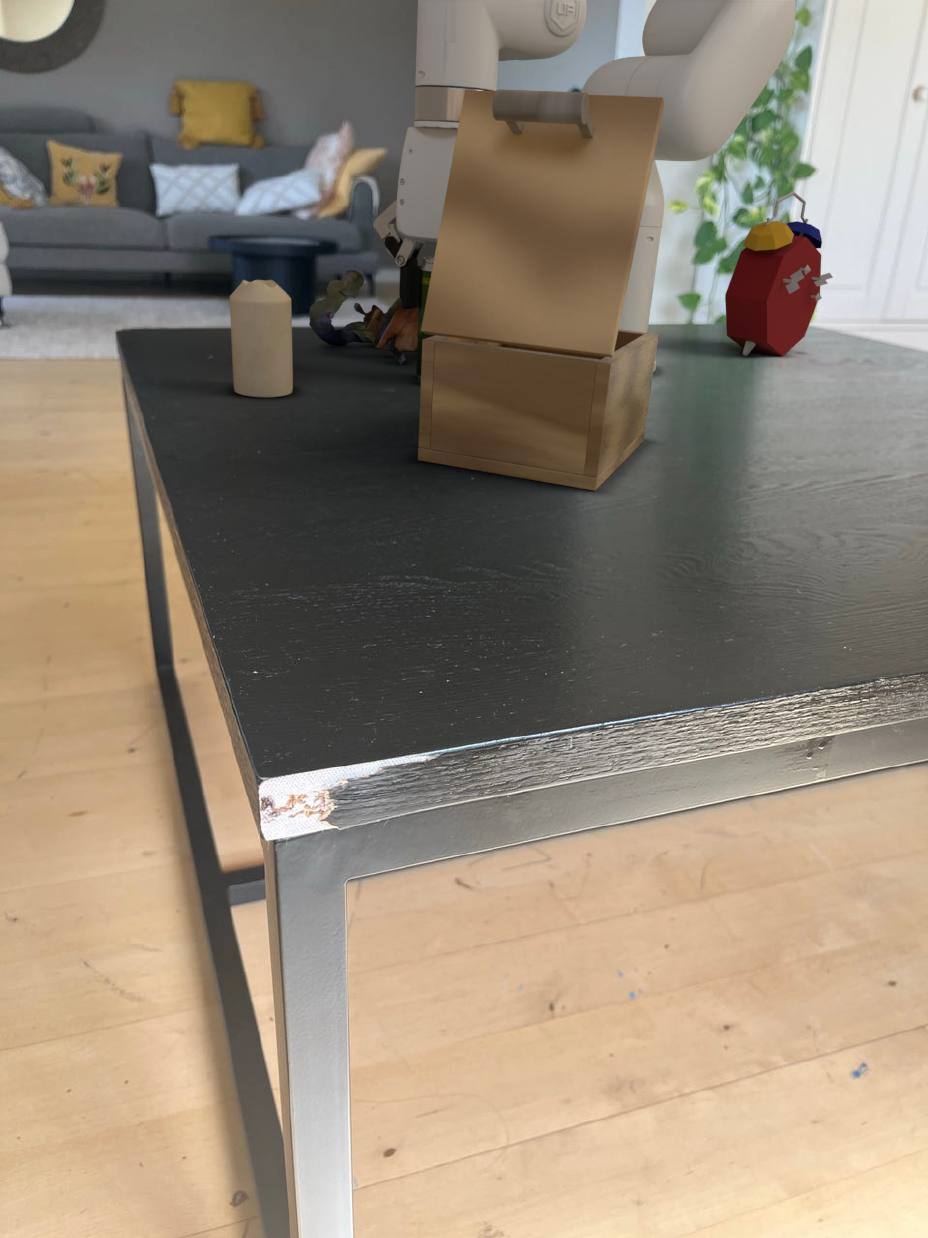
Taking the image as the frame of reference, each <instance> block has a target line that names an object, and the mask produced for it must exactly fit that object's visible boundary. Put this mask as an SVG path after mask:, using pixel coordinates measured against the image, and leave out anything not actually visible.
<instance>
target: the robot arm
mask: <svg viewBox="0 0 928 1238" xmlns="http://www.w3.org/2000/svg"><path fill="white" fill-rule="evenodd" d="M796 6H797V5H796V0H655V2H654V4H653V5H652V7H651V9H650V11H649V12H648V14H647V17H646V20H645V23H644V26H643V30H642V36H641V37H642V38H641V41H642V42H641V43H642V49H643V53H644V55H639V56H638V55H637V56H625V57H622V58H616V59H614V60H611V61H608V62H606V63H604V64H602V65H600V66H599V67H597V69H595V71H593V72H592V73H591V74H590V75H589V76H588V78H587V79H586V81H585V83H584V84H583V86H582V89H581V91H580V92H585V93H588V95H612V96H638V97H662V98H663V99H664V103H665V104H664V109H663V114H662V118H661V123H660V128H659V133H658V138H657V143H656V148H655V153H654V158H653V163H652V168H651V173H650V177H649V182H648V187H647V192H646V197H645V202H644V207H643V212H642V217H641V222H640V227H639V231H638V236H637V241H636V246H635V251H634V256H633V261H632V266H631V271H630V276H629V281H628V286H627V290H626V295H625V300H624V305H623V310H622V315H621V320H620V325H619V329H620V330H629V331H637V332H646V333H648V329H649V323H650V316H651V308H652V301H653V293H654V287H655V279H656V272H657V265H658V257H659V249H660V242H661V235H662V229H663V221H664V214H665V194H664V189H663V184H662V180H661V177H660V173H659V170H658V166H657V162H656V161H668V162H696V161H703V160H705V159H707V158H709V157H711V156H713V155H714V154H716V153H717V152H718V151H719V150H720V149H722V148H723V146H725V144H726V143H727V142H728V141H729V139H730V138H731V137H732V135H733V134H734V133H735V131H736V130H737V128H738V127H739V125H740V124H741V123H742V121H743V120H744V118H745V117H746V115H747V114H748V112H749V111H750V109H751V108H752V107H753V105H754V103H755V102H756V100H757V99H758V98H759V96H760V95H761V94H762V92H763V90H764V88H765V87H766V85H768V83H769V81H770V80H771V79H772V77H773V75H774V74H775V72H776V71H777V69H778V67H779V66H780V64H781V63H782V61H783V59H784V56H785V55H786V52H787V51H788V49H789V45H790V43H791V39H792V36H793V32H794V27H795V22H796V12H797V7H796ZM587 14H588V5H587V0H417V16H416V17H417V20H416V52H415V78H414V79H415V81H414V83H415V84H414V86H415V88H414V111H413V112H414V113H413V114H414V115H413V126H408V127H407V129H406V134H405V139H404V141H403V142H404V143H403V147H402V153H401V159H400V164H399V173H398V182H397V193H396V194H397V195H396V199H395V200H394V201H393V202H392V203H391V204H390V205H389V206H388V207H386V208H385V209H384V210H383V211H382V212H381V213H380V214H379V215H378V216H377V217H376V218H375V219H374V220H373V223H372V226H373V228H374V229H375V231H376V233H377V234H378V236H379V237H380V239H381V240H382V241H383V242H384V246H385V248H386V249H387V251H388V252H389V254H390V255H391V256H392V257H393V259H394V262H395V265H396V266H398V267H399V290H398V291H399V292H398V294H399V295H398V296H399V298H401V299H402V308H403V309H412V308H416V307H418V306H419V282H420V268H421V266H422V265H418V264H419V258H420V257H421V255H422V252H423V251H424V249H425V246H426V244H427V242H430V243H431V242H432V243H437V240H438V235H439V229H440V224H441V219H442V213H443V208H444V202H445V197H446V191H447V186H448V181H449V175H450V170H451V164H452V159H453V153H454V148H455V142H456V137H457V132H458V126H459V121H460V115H461V110H462V104H463V99H464V94H465V90H478V91H496V90H498V89H497V85H498V72H499V62H507V61H532V60H533V61H535V60H545V59H550V58H555V57H558V56H560V55H561V54H563V53H565V52H566V51H568V50H569V49H570V48H572V47H573V46H574V45H575V44H576V42H577V41H578V39H579V38H580V36H581V35H582V33H583V31H584V28H585V25H586V22H587V16H588V15H587ZM395 224H396V229H395V227H394V225H395ZM396 230H397V231H396ZM397 232H398V234H399V235H398V234H397ZM400 235H401V236H402V237H403V238H404V239H402V238H401V237H400ZM657 362H658V361H657V360H656V359H655V363H654V370H653V373H654V372H655V371H656V370H657Z"/></svg>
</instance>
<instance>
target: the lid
mask: <svg viewBox="0 0 928 1238" xmlns="http://www.w3.org/2000/svg"><path fill="white" fill-rule="evenodd" d="M664 104H665V103H664V99H663V98H662V97H638V96H612V95H588V93H585V92H581V91H559V90H558V91H556V90H529V89H528V90H527V89H503V88H499V89H496V91H478V90H465V94H464V99H463V104H462V110H461V115H460V121H459V126H458V132H457V137H456V142H455V148H454V153H453V159H452V164H451V170H450V175H449V181H448V186H447V191H446V197H445V202H444V208H443V213H442V219H441V224H440V229H439V235H438V240H437V242H436V246H435V253H434V256H433V257H434V262H433V267H432V273H431V278H430V284H429V289H428V295H427V300H426V306H425V311H424V316H423V322H422V327H421V332H423V333H424V334H429V335H437V336H445V337H453V338H461V339H469V340H477V341H484V342H492V343H500V344H508V345H516V346H524V347H532V348H540V349H548V350H556V351H563V352H571V353H579V354H587V355H595V356H603V357H611V358H612V357H613V354H614V349H615V344H616V340H617V335H618V330H619V325H620V320H621V315H622V310H623V305H624V300H625V295H626V290H627V286H628V281H629V276H630V271H631V266H632V261H633V256H634V251H635V246H636V241H637V236H638V231H639V227H640V222H641V217H642V212H643V207H644V202H645V197H646V192H647V187H648V182H649V177H650V173H651V168H652V163H653V158H654V153H655V148H656V143H657V138H658V133H659V128H660V123H661V118H662V114H663V109H664Z"/></svg>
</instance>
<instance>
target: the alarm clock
mask: <svg viewBox="0 0 928 1238" xmlns="http://www.w3.org/2000/svg"><path fill="white" fill-rule="evenodd" d="M792 196H793V197H794V198H796V199H797V200H798V201H799V202H800V203H802V204H801V205H802V206H801V211H800V219H801V221H789V222H787V221H788V218H786V217H784V218H783V219H782V220H781V221H779V220H775V219H776V218H777V215H778V209H779V206H780V202H783V201H784V200H786V199H789V198H790V197H792ZM806 204H807V202H806V200H805V199H804V198H802V197H801V196H800V195H799V194H797V193H796V192H795V190H792V191H790V192H789V193H787V194H785V195H783V196H782V197H779V198H778V199H776V201H775V205H774V209H773V215H772V216H771V218H770V217H767V218H766V221H763V222H760V223H758V224H755V225H753V226H752V227H751V228H750V230H749V231H748V233H747V235H746V237H745V239H744V242H743V245H742V246H743V247H744V248H743V249H742V250H741V251H740V253H739V256H738V259H737V262H736V264H735V266H734V270H733V273H732V276H731V278H730V280H729V284H728V286H727V288H726V291H725V294H724V299H725V325H726V329H725V330H726V337H727V338H729V339H730V340H732V341H733V342H734V343H735V344H736V345H738V346H739V347H740V348H741V349H742V350H743V351H742V355H743V356H745V357H747V356H749V354H750V353H751V351H752V352H758V353H764V354H769V355H774V356H780V357H784V356H785V355H786V354H787V353H788V352H789V351H790V350H792V349H793V348H794V347H795V346H796V345H797V344H798V343H799V342H800V341H801V340H803V339H804V338H805V336H806V333H807V331H808V329H809V325H810V323H811V320H812V319H813V315H814V313H815V310H816V307H817V305H818V302H819V301H820V300H821V299H823V297H822V295H821V287H822V286H824V285H827V284H828V283H829V282H828V281H827V280H829V279H833V278H834V277H833V276H832V274H831V273H830V272H828V273H827V272H826V273H824V274H822V253H820V251H819V250H818V249H821V248H822V244H823V240H822V239H823V238H822V235H821V230H820V229H819V228H817V227H816V226H814V225H813V224H810V223H808V222H809V219H808V218H805V217H804V216H805V211H806Z"/></svg>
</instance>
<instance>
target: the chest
mask: <svg viewBox="0 0 928 1238" xmlns="http://www.w3.org/2000/svg"><path fill="white" fill-rule="evenodd" d="M658 340H659V333H653V332H647V333H646V332H637V331H629V330H620V329H619V330H618V335H617V340H616V344H615V349H614V354H613V357H612V358H611V357H603V356H595V355H587V354H579V353H571V352H563V351H556V350H548V349H540V348H532V347H524V346H516V345H508V344H500V343H492V342H484V341H477V340H469V339H461V338H453V337H445V336H437V335H435V336H432V337H429V338H426V339H423V340H422V366H421V382H420V397H419V418H418V419H419V420H418V421H419V422H418V424H419V425H418V448H417V460H418V461H421V462H425V463H432V464H438V465H442V466H443V465H444V466H448V467H454V468H459V469H467V470H472V471H478V472H483V473H489V474H494V475H501V476H507V477H513V478H518V479H524V480H530V481H536V482H541V483H547V484H553V485H559V486H565V487H569V488H575V489H582V490H587V491H593V492H595V491H598V490H597V489H599V487H601V485H602V484H604V483H605V482H606V481H607V479H608V478H609V477H611V475H613V474H614V472H615V471H617V469H618V468H619V467H621V465H622V464H623V463H624V462H625V461H626V460H627V459H628V458H629V457H630V456H631V455H632V454H633V453H634V452H635V451H636V450H637V449H638V448H639V447H640V446H641V444H643V442H644V440H645V433H646V432H645V431H646V426H647V418H648V413H649V404H650V398H651V390H652V384H653V378H654V372H653V370H654V363H655V360H656V355H657V348H658V342H659V341H658Z"/></svg>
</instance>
